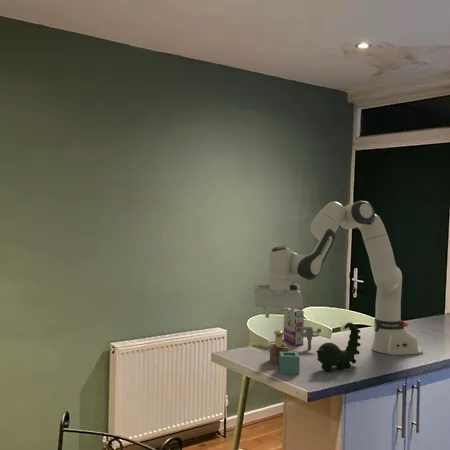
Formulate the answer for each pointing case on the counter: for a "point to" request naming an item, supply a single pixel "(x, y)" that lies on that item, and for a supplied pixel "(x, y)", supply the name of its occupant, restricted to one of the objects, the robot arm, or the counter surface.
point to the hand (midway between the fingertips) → (278, 317)
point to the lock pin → (279, 338)
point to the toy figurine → (340, 351)
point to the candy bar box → (293, 326)
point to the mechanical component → (308, 334)
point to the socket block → (289, 362)
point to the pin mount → (276, 353)
